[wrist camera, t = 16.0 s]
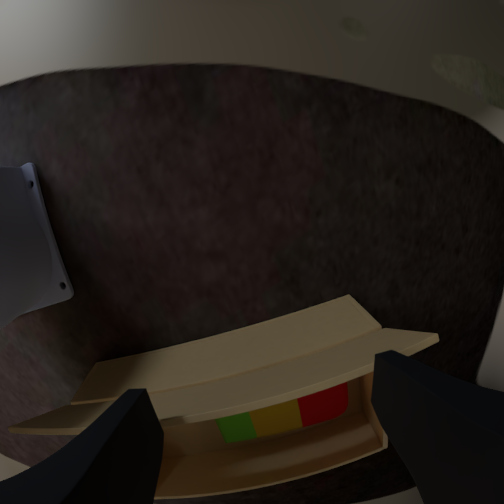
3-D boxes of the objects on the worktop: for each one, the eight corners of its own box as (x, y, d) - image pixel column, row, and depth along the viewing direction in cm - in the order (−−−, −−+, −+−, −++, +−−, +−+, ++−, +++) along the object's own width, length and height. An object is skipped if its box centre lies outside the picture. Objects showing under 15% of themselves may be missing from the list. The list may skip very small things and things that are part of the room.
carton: (95, 362, 19) (69, 402, 14) (349, 293, 19) (381, 325, 15) (157, 458, 22) (149, 499, 17) (365, 408, 22) (387, 447, 17)
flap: (67, 409, 14) (65, 405, 14) (386, 333, 14) (385, 327, 14) (9, 432, 9) (7, 426, 9) (440, 341, 9) (438, 333, 9)
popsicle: (343, 400, 21) (351, 415, 19) (156, 437, 21) (152, 453, 19) (337, 342, 20) (346, 356, 18) (127, 386, 19) (120, 401, 18)
